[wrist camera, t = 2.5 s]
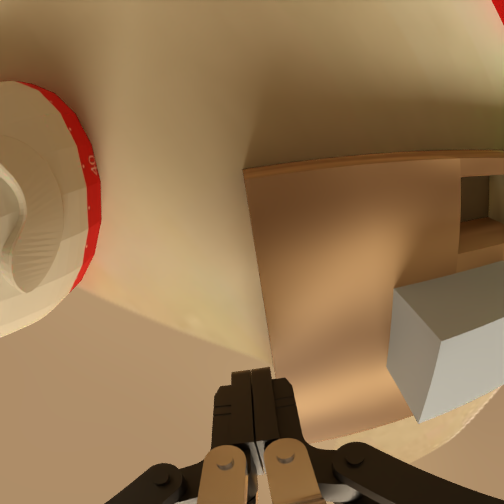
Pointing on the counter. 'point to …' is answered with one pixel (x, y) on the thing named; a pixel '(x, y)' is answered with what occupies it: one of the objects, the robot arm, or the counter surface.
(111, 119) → the counter surface
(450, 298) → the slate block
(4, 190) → the kitchen timer
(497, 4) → the puzzle toy
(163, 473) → the robot arm
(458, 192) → the board
